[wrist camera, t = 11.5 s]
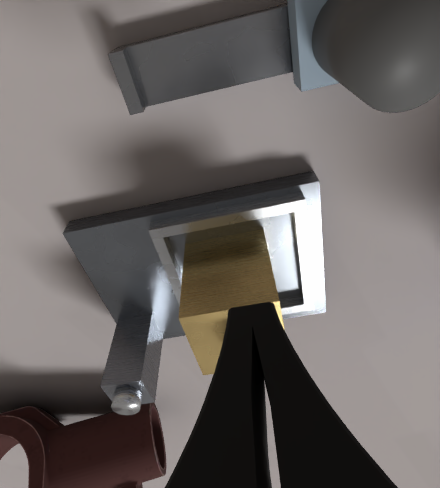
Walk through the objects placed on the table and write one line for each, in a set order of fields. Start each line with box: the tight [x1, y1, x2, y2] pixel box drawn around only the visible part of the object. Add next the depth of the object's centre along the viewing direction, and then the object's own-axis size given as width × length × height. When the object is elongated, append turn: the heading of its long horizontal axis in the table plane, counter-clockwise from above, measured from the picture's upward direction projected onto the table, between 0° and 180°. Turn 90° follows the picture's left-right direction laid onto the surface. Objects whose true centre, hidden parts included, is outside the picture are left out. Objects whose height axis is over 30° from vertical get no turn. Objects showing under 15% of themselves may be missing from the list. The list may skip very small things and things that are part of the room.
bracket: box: [0, 402, 166, 488], centre depth 29 cm, size 6×18×11 cm, turn 97°
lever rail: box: [108, 4, 293, 115], centre depth 14 cm, size 13×2×2 cm, turn 102°
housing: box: [179, 229, 284, 375], centre depth 18 cm, size 4×4×7 cm
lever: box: [287, 0, 440, 113], centre depth 12 cm, size 4×3×6 cm
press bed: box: [63, 171, 326, 415], centre depth 20 cm, size 14×10×7 cm
